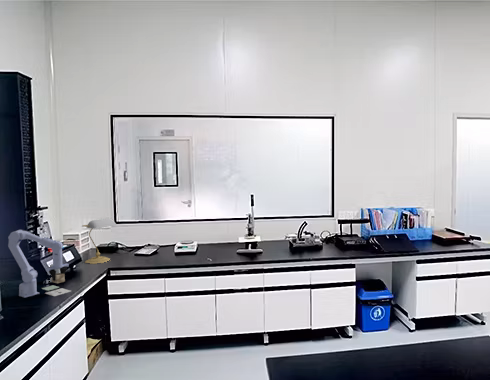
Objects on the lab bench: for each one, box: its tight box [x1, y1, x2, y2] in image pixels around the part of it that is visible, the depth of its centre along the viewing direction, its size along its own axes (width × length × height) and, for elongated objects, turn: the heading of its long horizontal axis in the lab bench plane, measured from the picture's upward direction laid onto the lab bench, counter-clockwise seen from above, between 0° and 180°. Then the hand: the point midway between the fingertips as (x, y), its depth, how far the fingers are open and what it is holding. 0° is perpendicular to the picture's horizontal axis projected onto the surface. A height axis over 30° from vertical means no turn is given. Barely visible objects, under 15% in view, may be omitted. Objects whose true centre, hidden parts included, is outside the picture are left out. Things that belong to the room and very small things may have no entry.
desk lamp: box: [82, 217, 117, 265], centre depth 318 cm, size 31×23×40 cm
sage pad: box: [41, 285, 60, 292], centre depth 239 cm, size 8×8×1 cm
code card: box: [44, 288, 72, 297], centre depth 230 cm, size 12×12×1 cm
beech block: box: [51, 273, 66, 284], centre depth 230 cm, size 5×7×5 cm
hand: (58, 279), depth 230 cm, fingers closed on beech block, 5 cm apart
